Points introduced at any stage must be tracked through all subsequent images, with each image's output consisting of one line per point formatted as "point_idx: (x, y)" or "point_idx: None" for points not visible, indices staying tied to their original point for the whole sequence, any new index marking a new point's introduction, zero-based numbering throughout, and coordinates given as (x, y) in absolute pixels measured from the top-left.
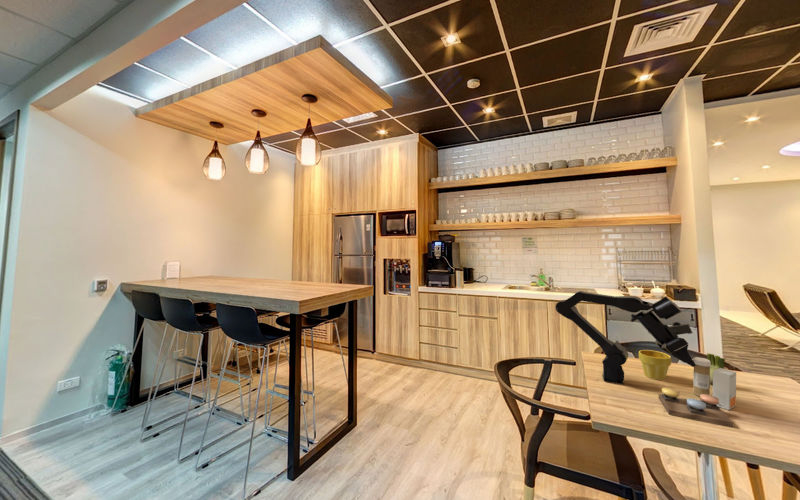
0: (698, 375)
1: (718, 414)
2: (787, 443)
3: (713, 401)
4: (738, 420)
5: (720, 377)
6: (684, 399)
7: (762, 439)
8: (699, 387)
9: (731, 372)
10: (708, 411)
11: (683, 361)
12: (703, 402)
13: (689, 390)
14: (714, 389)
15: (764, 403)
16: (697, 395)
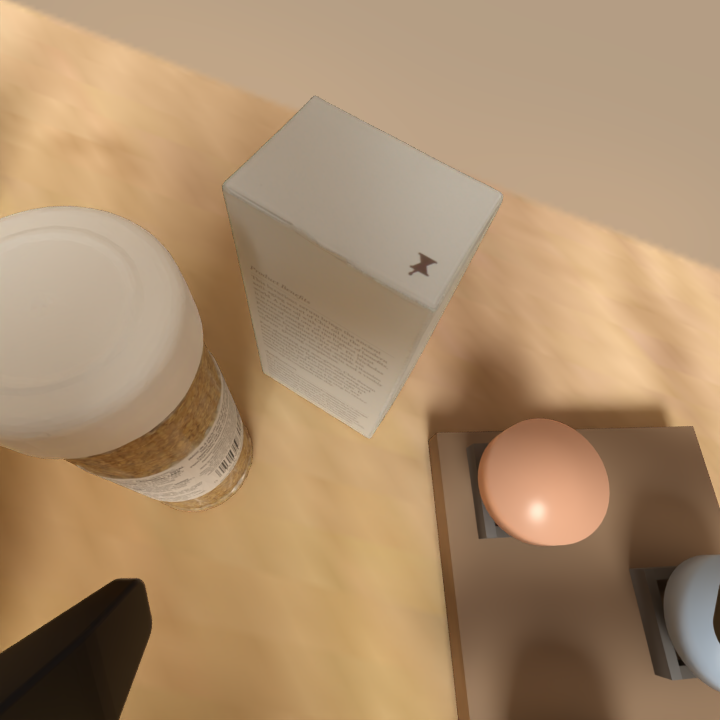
0: (202, 450)
1: (625, 473)
2: (671, 267)
3: (598, 469)
4: (539, 372)
5: (452, 290)
6: (482, 652)
7: (713, 349)
8: (230, 469)
9: (376, 142)
10: (617, 523)
11: (136, 664)
12: (718, 565)
13: (113, 522)
14: (396, 391)
15: (173, 151)
16: (233, 493)
